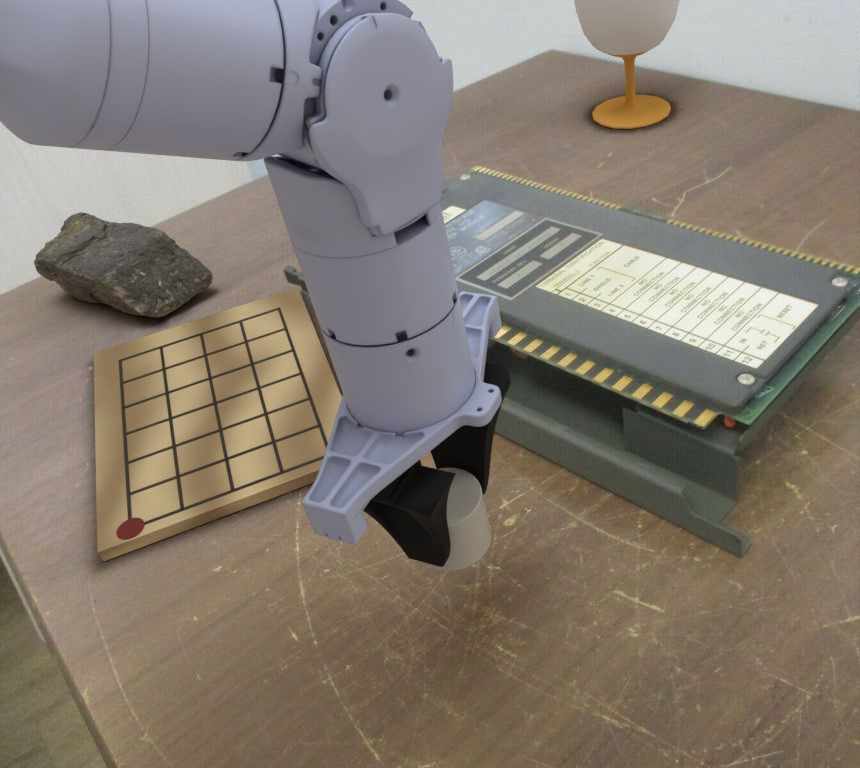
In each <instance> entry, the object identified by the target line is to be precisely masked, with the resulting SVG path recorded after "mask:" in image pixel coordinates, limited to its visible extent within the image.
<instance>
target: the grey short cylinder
mask: <svg viewBox="0 0 860 768" xmlns="http://www.w3.org/2000/svg"><path fill="white" fill-rule="evenodd" d="M439 470H443V471H448V472H452V473H456V475H455V477H454V479H453V481H452V484H451V486H450V490H449V494H448V501H447V523H448V529H449V536H450V543H451V547H450V555H449V558H448V560H447V561H446V563H445V565H444V566H443V567H439V566H435V565H431V564H428V563H424V562H422V564H424V565H425V566H427V567H428V568H431V569H432V570H435V571H439V572H455V571H460V570H461V571H462V570H464V569H467V568H468V567H471V566H473V565H474V564H476V563H478V561H480V560H481V559H482V558H483V557H484V556H485V555H486V553H487V552H488V550H489V548H490V545H491V542H492V536H493V535H492V529H491V525H490V519H489V516H488V511H487V507H486V502H485V498H484V496H483V493H482V488H481V485H480V483H479V481H478V480H477V479H476V478H475V477H474V476H473V475H472V474H471V473H469V472H467V471H465V470H462V469H458V468H439Z"/></svg>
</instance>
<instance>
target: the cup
mask: <svg viewBox="0 0 860 768" xmlns="http://www.w3.org/2000/svg"><path fill="white" fill-rule="evenodd" d="M573 2H574V6H575V13H576V15H577V18H578V21H579V25H580V27H581V30H582V32H583V35H584V36H585V38H586V39H587V40H588V42H589V43H590V45H591V46H592V47H593V48H595V50H597V51H599V52H601V53H603V54H606V55H609V56H612V57H615V58H621V59H622V60H623V65H624V75H625V77H624V78H625V95H621V96H617V97H613V98H610V99H607V100H605V101H603V102H602V103H599V104H598V105H596V106H595V108H594V109H593V111H592V113H591V116H592V118H593V119H592V120H593V121H594V122H595V123H597V124H599V125H600V126H601V127H606V128H609V129H615V130H634V129H639V128H640V129H641V128H646V127H649V126H652V125H655V124H658V123H660V122H662V121H663V120H664V119H666V118H667V117H669V115H670V112H671V110H672V107H671V105H670V103H669V101H667V100H665V99H663V98H662V97H660V96H655V95H649V94H636V85H635V62H636V61H635V60H636V58H637V57H638V56H641V55H644V54H646V53H647V52H649V51H652V50H653V49H655V48H656V47H658V46H659V45H661V44H662V43H663V41H664V40H665V38H666V37H667V34H668V33H669V31H670V29H671V28H672V26H673V24H674V22H675V20H676V16H677V12H678V9H679V5H680V0H573Z"/></svg>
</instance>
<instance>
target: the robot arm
mask: <svg viewBox="0 0 860 768" xmlns="http://www.w3.org/2000/svg"><path fill="white" fill-rule="evenodd" d="M413 14H414V11H412V10H411V8H409V7H408V6H407V5H406V4H405V3H403V2H401V1H400V0H0V123H1V124H2V125H3V126H4V127H5V129H7V130H8V131H9V132H10V133H12V135H14V136H15V137H16V138H17V139H19V140H21V141H23V142H24V143H27V144H29V145H33V146H41V147H42V146H43V147H54V148H66V149H67V148H68V149H78V150H91V151H104V152H116V153H129V154H142V155H153V156H154V155H155V156H167V157H168V156H169V157H180V158H193V159H206V160H216V161H217V160H218V161H229V162H230V161H231V162H232V161H234V162H243V163H244V162H245V163H246V162H255V161H259V160H263V163H264V165H265V169H266V172H267V175H268V178H269V181H270V184H271V187H272V190H273V192H274V193H273V194H274V196H275V199H276V201H277V204H278V208H279V210H280V213H281V216H282V218H283V223H284V226H285V229H286V231H287V234H288V237H289V240H290V242H291V246H292V248H293V252H294V255H295V257H296V261H297V263H298V266H299V269H300V272H301V275H302V278H303V281H304V284H305V287H306V290H307V293H308V295H309V299H310V302H311V304H312V307H313V310H314V313H315V315H316V318H317V322H318V324H319V328H320V331H321V334H322V336H323V338H324V342H325V346H326V348H327V351H328V354H329V357H330V359H331V363H332V366H333V369H334V371H335V373H336V378H337V380H338V383H339V386H340V389H341V391H342V394H341V396H342V399H341V402H340V405H339V408H338V412H337V415H336V418H335V422H334V425H333V428H332V431H331V435H330V438H329V441H328V445H327V448H326V451H325V454H324V458H323V461H322V464H321V467H320V470H319V473H318V475H317V478H316V480H315V482H314V483H312V485H311V487H310V488H309V490H308V492H307V493H306V495H305V496H304V498H303V499H302V500H301V505H302V507H303V510H304V513H305V514H306V517H307V519H308V521H309V523H310V526H311V528H312V530H313V533H314V534H315V535H318V536H321V537H325V538H327V539H331V540H334V541H338V542H343V543H346V544H350V545H357V544H358V543H359V541H360V540H361V539H362V537H363V536H364V534H365V533H366V531H367V529H368V524H367V520H366V518H365V516H364V513H366V514H367V515H368V516H369V517H371V518H372V519H373V520H374V521H375V522H377V524H379V525H380V527H382V528H383V529H384V530H385V531H386V532H387V533H388V535H389V536H390V537H391V538H392V539H393V540H394V541H395V542H396V543H397V545H398V546H399V547H400V549H401V550H402V552H404V554H405V555H406V557H407V558H408V559H410V560H414V561H416V562H420V563H423V562H424V563H428V564H431V565H435V566H439V567H443V566H444V565H445V563H446V561H447V560H448V558H449V555H450V547H451V543H450V536H449V529H448V523H447V501H448V494H449V490H450V486H451V484H452V481H453V479H454V477H455V475H456V473H452V472H448V471H443V470H439V468H458V469H462V470H465V471H467V472H469V473H471V474H472V475H473V476H474V477H475V478H476V479H477V480H478V481H479V483H480V485H481V488H482V493H483V497H484V496H485V494H486V492H487V490H488V486H489V479H490V471H491V461H492V459H491V458H492V451H493V442H494V435H495V432H496V431H495V429H496V426H497V422H498V418H499V414H500V412H501V409H502V406H503V403H504V400H505V398H506V395H507V393H508V391H509V390H510V387H511V384H512V381H511V374H510V372H509V370H508V369H507V368H506V367H505V366H503V365H501V364H497V363H491V362H486V361H487V352H488V345H489V344H488V343H489V339H493V338H495V337H496V336H497V335H498V333H499V332H500V330H501V329H502V327H503V325H502V318H501V311H500V307H499V300H498V296H497V295H494V294H493V295H492V294H484V293H479V292H470V291H464V290H463V291H460V292H459V287H458V282H457V279H456V272H455V269H454V263H453V259H452V254H451V249H450V244H449V240H448V235H447V229H446V225H445V220H444V214H443V209H442V206H441V205H442V204H441V200H442V197H443V194H442V188H443V187H444V186H445V185H446V184H447V181H446V176H445V172H444V171H445V170H444V166H443V160H442V146H443V145H442V144H443V139H444V134H445V132H446V129H447V125H448V122H449V120H450V116H451V111H452V105H453V97H454V70H453V63H452V62H453V61H452V60H451V59H450V58H447V57H446V58H443V56H441V55H439V54H438V51H437V49H436V46H435V45H434V43H433V41H432V39H431V37H430V36H429V34H428V33H427V30H426V28H425V26H424V25H423V23H422V22H421V21H420V20H415V19H412V16H413ZM276 155H278V156H276ZM429 453H431V457H432V460H433V463H434V466H435V468H434V467H429V466H425V465H422V461H421V459H422V458H424V457H425V456H427V455H428V454H429ZM424 563H423V564H424Z"/></svg>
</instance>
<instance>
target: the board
mask: <svg viewBox="0 0 860 768" xmlns="http://www.w3.org/2000/svg"><path fill="white" fill-rule="evenodd" d="M311 318H312V317H311V316H310V313H309V311H308V308H307V306H306V303H305V301H304V298H303V295H302V293H301V291H300V288H299V287H298V286H297V287H294V288H293V287H292V288H290V289H288V290H284V291H282V292H281V291H280V292H278V293H275V294H272V295H269V296H266V297H263V298H260V299H257V300H254V301H251V302H250V301H249V302H247V303H244V304H240V305H238V306H235V307H231V308H228V309H226V310H223V311H219V312H216V313H214V314H213V313H212V314H210V315H207V316H204V317H201V318H198V319H194V320H192V321H188V322H185V323H183V324H179V325H177V326H173V327H170V328H167V329H164V330H161V331H157V332H154V333H152V334H148V335H145V336H142V337H139V338H136V339H133V340H130V341H127V342H124V343H121V344H117V345H114V346H111V347H107V348H105V349H102V350H99V351H95V352H93V392H94V393H93V395H94V396H93V397H94V398H93V399H94V400H93V401H94V403H93V404H94V405H93V406H94V452H95V454H94V455H95V456H94V457H95V458H94V459H95V503H96V505H95V508H96V513H95V514H96V551H97V552H96V553H97V554H98V556H99V558H100V559H101V560H102V562H106V561H109V560H111V559H114V558H118V557H120V556H123V555H125V554H128V553H130V552H133V551H135V550H139V549H141V548H144V547H147V546H150V545H152V544H154V543H157V542H160V541H163V540H165V539H168V538H170V537H171V538H172V537H173V536H176V535H178V534H181V533H183V532H186V531H189V530H191V529H194V528H197V527H200V526H202V525H205V524H207V523H211V522H213V521H216V520H219V519H221V518H224V517H227V516H229V515H231V514H235V513H237V512H239V511H242V510H245V509H248V508H250V507H253V506H255V505H258V504H261V503H263V502H266V501H269V500H272V499H274V498H277V497H279V496H282V495H285V494H287V493H290V492H293V491H295V490H298V489H301V488H304V487H307V486H309V485H311V484H314V482H315V480H316V478H317V475H318V473H319V470H320V467H321V464H322V461H323V458H324V454H325V451H326V448H327V445H328V441H329V438H330V435H331V431H332V428H333V425H334V422H335V418H336V415H337V412H338V408H339V405H340V402H341V399H342V394H341V391H340V389H339V386H338V383H337V380H336V378H335V376H334V374H333V371H332V369H331V368H332V367H331V366H330V363H329V361H328V359H327V356H326V354H325V351H324V348H323V346H322V344H321V341H320V338H319V335H318V334H317V331H316V328H315V326H314V323H313V320H312V319H311Z"/></svg>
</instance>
